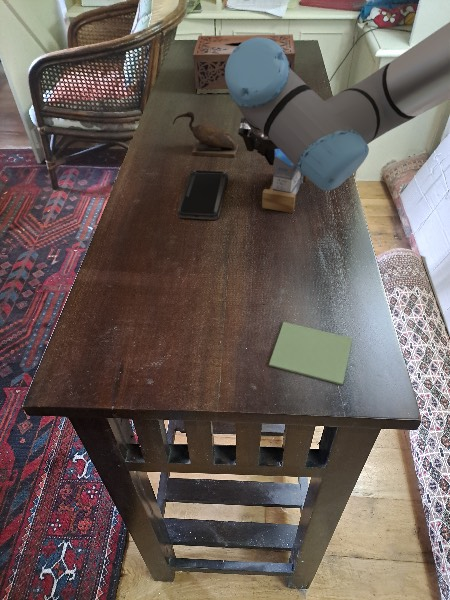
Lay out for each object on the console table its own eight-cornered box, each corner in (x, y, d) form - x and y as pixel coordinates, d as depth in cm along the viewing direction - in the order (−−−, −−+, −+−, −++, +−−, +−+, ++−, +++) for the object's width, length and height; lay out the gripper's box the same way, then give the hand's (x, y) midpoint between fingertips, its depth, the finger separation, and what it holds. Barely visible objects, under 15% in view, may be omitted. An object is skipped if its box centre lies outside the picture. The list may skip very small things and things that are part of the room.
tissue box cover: (196, 94, 124) (193, 54, 116) (201, 73, 133) (198, 35, 126) (292, 93, 122) (295, 53, 115) (289, 72, 132) (292, 34, 125)
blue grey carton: (290, 207, 87) (295, 147, 78) (270, 203, 88) (273, 143, 79) (303, 183, 93) (310, 124, 84) (285, 179, 94) (289, 121, 85)
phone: (228, 171, 94) (217, 215, 84) (228, 176, 95) (218, 220, 85) (190, 170, 95) (175, 213, 85) (191, 175, 96) (176, 218, 86)
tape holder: (307, 178, 94) (308, 163, 91) (292, 213, 86) (294, 197, 83) (278, 174, 95) (279, 158, 93) (262, 207, 87) (262, 192, 85)
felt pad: (351, 339, 65) (352, 337, 65) (342, 385, 60) (343, 383, 60) (283, 323, 67) (283, 321, 67) (268, 366, 62) (268, 364, 62)
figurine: (173, 154, 102) (168, 116, 96) (178, 144, 105) (174, 106, 99) (235, 157, 100) (234, 119, 94) (238, 147, 103) (238, 109, 97)
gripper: (205, 133, 70) (239, 172, 92) (335, 151, 65) (337, 188, 87) (215, 83, 69) (247, 135, 91) (347, 97, 64) (346, 148, 86)
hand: (291, 161), depth 89 cm, fingers open, 7 cm apart
